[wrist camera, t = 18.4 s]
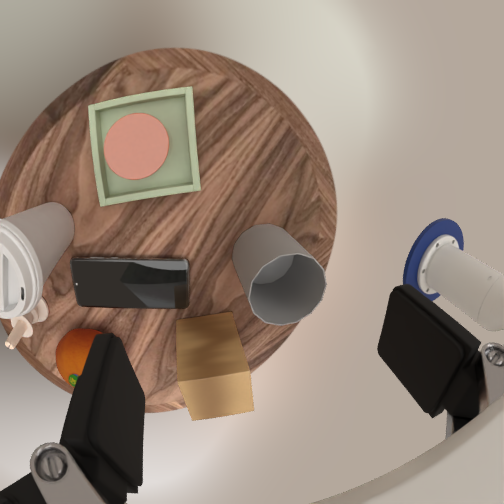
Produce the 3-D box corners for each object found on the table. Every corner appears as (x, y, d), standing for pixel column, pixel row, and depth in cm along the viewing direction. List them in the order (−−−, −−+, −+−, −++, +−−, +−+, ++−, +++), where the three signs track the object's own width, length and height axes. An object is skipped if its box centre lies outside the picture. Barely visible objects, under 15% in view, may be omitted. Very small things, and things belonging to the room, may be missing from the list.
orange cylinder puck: (170, 113, 28) (166, 107, 22) (175, 168, 30) (172, 174, 25) (115, 123, 27) (100, 120, 21) (121, 177, 29) (107, 185, 24)
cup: (222, 273, 37) (236, 316, 28) (245, 215, 35) (268, 242, 26) (278, 288, 40) (305, 330, 31) (303, 235, 38) (339, 266, 29)
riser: (231, 311, 40) (250, 370, 29) (236, 351, 43) (254, 410, 32) (176, 319, 38) (177, 382, 27) (186, 359, 41) (192, 420, 30)
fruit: (121, 319, 36) (112, 356, 29) (131, 370, 40) (127, 407, 33) (57, 315, 34) (39, 349, 26) (73, 365, 37) (62, 400, 30)
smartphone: (189, 309, 37) (77, 307, 33) (189, 305, 38) (79, 303, 34) (190, 259, 34) (68, 257, 30) (189, 255, 35) (71, 254, 31)
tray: (191, 90, 28) (192, 86, 25) (199, 186, 32) (200, 190, 30) (95, 107, 26) (87, 105, 23) (105, 202, 30) (100, 206, 28)
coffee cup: (63, 274, 32) (17, 343, 18) (16, 231, 28) (-47, 280, 14) (98, 222, 31) (49, 277, 17) (47, 174, 27) (-25, 201, 13)
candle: (51, 322, 34) (28, 368, 24) (25, 316, 32) (-2, 358, 23) (46, 293, 32) (17, 337, 23) (19, 287, 31) (-13, 327, 21)
